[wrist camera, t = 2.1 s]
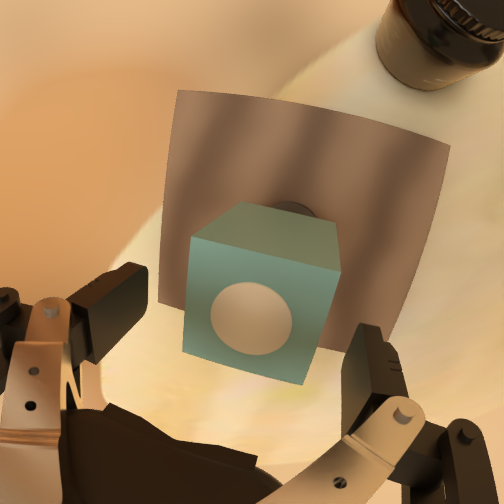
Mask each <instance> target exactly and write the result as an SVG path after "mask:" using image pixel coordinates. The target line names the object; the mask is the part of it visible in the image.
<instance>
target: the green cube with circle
mask: <svg viewBox="0 0 504 504" xmlns="http://www.w3.org/2000/svg"><path fill="white" fill-rule="evenodd" d="M340 274H341V266H340V256H339V247H338V238H337V229H336V223H335V222H331V221H326V220H322V219H318V218H314V217H310V216H305V215H301V214H297V213H292V212H288V211H284V210H279V209H275V208H270V207H266V206H261V205H256V204H252V203H247V202H242V201H241V202H240V203H238V204H237V205H235V206H234V207H232V208H231V209H230V210H228V211H227V212H225V213H224V214H222V215H221V216H219V217H218V218H216V219H215V220H214V221H212V222H211V223H209V224H208V225H206V226H205V227H204V228H202V229H201V230H199V231H198V232H196V233H195V234H194V235H192V236H191V242H190V252H189V263H188V275H187V287H186V300H185V315H184V331H183V350H182V352H185V353H188V354H191V355H194V356H197V357H200V358H203V359H206V360H209V361H213V362H216V363H219V364H222V365H226V366H229V367H232V368H236V369H239V370H243V371H246V372H250V373H254V374H257V375H261V376H265V377H269V378H273V379H277V380H281V381H285V382H289V383H293V384H298V385H303V382H304V380H305V377H306V375H307V372H308V369H309V367H310V364H311V361H312V359H313V356H314V353H315V350H316V348H317V345H318V342H319V339H320V336H321V333H322V330H323V328H324V325H325V322H326V319H327V316H328V313H329V310H330V307H331V303H332V300H333V297H334V294H335V291H336V288H337V284H338V281H339V278H340Z"/></svg>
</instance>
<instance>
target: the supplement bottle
mask: <svg viewBox="0 0 504 504" xmlns="http://www.w3.org/2000/svg"><path fill="white" fill-rule="evenodd" d="M376 46H377V50H378V54H379V56H380V58H381V60H382V62H383V64H384V65H385V67H386V68H387V69H388V70H389V71H390V73H391V74H392V75H394V76H395V77H396V78H397V79H398V80H400V81H401V82H403V83H405V84H406V85H408V86H411V87H413V88H416V89H420V90H436V89H440V88H443V87H445V86H448V85H450V84H452V83H454V82H457V81H459V80H461V79H463V78H466V77H468V76H470V75H473V74H475V73H477V72H480V71H482V70H484V69H487V68H489V67H490V66H492V65H494V64H495V63H497V61H498V60H499V59H500V58H501V57H502V55H503V53H504V0H390V3H389V5H388V7H387V9H386V11H385V13H384V16H383V18H382V20H381V22H380V25H379V27H378V30H377V34H376Z"/></svg>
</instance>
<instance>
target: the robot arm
mask: <svg viewBox="0 0 504 504" xmlns="http://www.w3.org/2000/svg"><path fill="white" fill-rule="evenodd" d="M147 305H148V269H147V267H146V266H142V265H139V264H136V263H132V262H127V263H125V264H124V265H122V266H121V267H120V268H118V269H117V270H113V271H110V272H106V273H103V274H102V275H100V276H99V277H97V278H96V279H95V280H94V281H91V282H90V283H88V285H85V286H84V287H83V288H81V289H80V290H78V291H77V292H75V293H74V294H72V295H71V296H70V297H68V298H67V299H62V298H59V297H49V298H44V299H42V300H40V301H38V302H37V303H36V304H35V305H34V306H31V305H27V304H22V303H20V298H19V293H18V291H16V290H15V289H13V288H8V287H3V288H0V395H1V394H2V393H3V392H4V391H5V393H4V400H3V407H2V414H1V423H0V504H365V503H366V502H367V501H368V500H369V499H370V498H371V497H372V496H373V494H374V493H375V492H376V491H377V490H378V489H379V487H380V486H381V485H382V484H383V483H384V482H385V480H386V479H388V480H391V481H394V482H397V483H400V484H401V485H402V504H499V502H498V496H497V491H496V486H495V481H494V476H493V472H492V467H491V464H490V459H489V455H488V451H487V448H486V444H485V440H484V437H483V434H482V432H481V430H480V429H479V427H478V426H477V425H475V424H474V423H473V422H471V421H469V420H467V419H455V420H453V421H452V422H451V423H450V424H449V426H448V427H447V428H445V427H442V426H439V425H436V424H433V423H430V422H428V421H426V420H425V414H424V411H423V410H422V408H421V407H420V406H419V405H418V404H417V403H416V402H415V401H413V400H411V399H409V396H408V392H407V388H406V384H405V380H404V376H403V372H402V368H401V364H400V360H399V357H398V353H397V351H396V350H395V349H394V347H393V346H392V345H391V344H390V343H389V342H384V340H383V336H382V332H381V329H380V327H379V326H374V325H370V324H365V323H359V324H358V326H357V328H356V331H355V333H354V335H353V338H352V340H351V343H350V345H349V347H348V350H347V352H346V354H345V357H344V360H343V363H342V369H341V395H342V419H341V440H340V441H338V442H337V443H336V444H335V445H334V446H333V447H331V448H330V449H329V450H328V451H327V452H326V453H324V454H323V455H322V456H321V457H320V458H318V459H317V460H316V461H315V462H313V463H312V464H311V465H310V466H308V467H307V468H306V469H304V470H303V471H302V472H301V473H299V474H298V475H297V476H295V477H294V478H292V479H291V480H290V481H289V482H287V483H286V484H284V485H282V484H281V483H280V482H279V481H278V480H277V479H276V478H274V477H273V476H272V475H270V474H268V473H267V472H265V471H264V470H262V469H260V468H258V467H256V466H255V465H256V461H257V458H258V456H256V455H252V454H248V453H244V452H240V451H237V450H233V449H230V448H226V447H223V446H219V445H211V444H202V443H194V442H186V441H179V440H175V439H173V438H171V437H170V436H168V435H167V434H165V433H164V432H162V431H161V430H159V429H158V428H156V427H155V426H153V425H152V424H151V423H149V422H148V421H146V420H145V419H143V418H142V417H140V416H138V415H135V414H133V413H131V412H129V411H127V410H124V409H122V408H120V407H118V406H116V405H114V404H112V403H109V404H108V405H107V406H106V408H105V409H104V410H103V411H101V410H94V409H84V402H83V385H82V383H83V382H82V366H81V363H82V362H83V361H84V360H87V361H89V362H91V363H93V364H95V365H96V364H98V363H99V361H100V360H101V359H102V358H103V357H104V356H105V355H106V354H107V353H108V352H109V351H110V350H111V349H112V348H113V347H114V346H115V345H116V344H117V343H118V342H119V341H120V339H121V338H122V337H123V336H124V335H125V334H126V333H127V332H128V331H129V330H130V329H131V328H132V327H133V326H134V325H135V324H136V323H137V322H138V321H139V320H140V319H141V318H142V317H143V315H144V314H145V312H146V309H147ZM444 486H445V491H444ZM445 496H446V499H445Z"/></svg>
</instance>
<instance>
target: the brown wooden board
mask: <svg viewBox="0 0 504 504" xmlns="http://www.w3.org/2000/svg"><path fill="white" fill-rule="evenodd" d="M449 150H450V145H447V144H445V143H442V142H439V141H437V140H434V139H431V138H428V137H425V136H422V135H419V134H416V133H413V132H410V131H407V130H404V129H401V128H398V127H394V126H391V125H388V124H384V123H381V122H377V121H373V120H370V119H366V118H362V117H358V116H354V115H350V114H346V113H342V112H338V111H333V110H329V109H324V108H319V107H314V106H309V105H304V104H298V103H293V102H287V101H281V100H275V99H268V98H261V97H253V96H245V95H236V94H227V93H215V92H203V91H185V90H178V93H177V99H176V105H175V111H174V118H173V124H172V131H171V139H170V146H169V154H168V163H167V171H166V181H165V191H164V201H163V213H162V226H161V241H160V259H159V284H158V302H159V303H162V304H165V305H168V306H171V307H174V308H177V309H181V310H184V311H185V300H186V287H187V275H188V263H189V252H190V242H191V236H192V235H194V234H195V233H196V232H198V231H199V230H201V229H202V228H204V227H205V226H206V225H208V224H209V223H211V222H212V221H214V220H215V219H216V218H218V217H219V216H221V215H222V214H224V213H225V212H227V211H228V210H230V209H231V208H232V207H234V206H235V205H237V204H238V203H240V202H241V201H242V202H247V203H252V204H256V205H261V206H266V207H270V208H275V209H279V210H284V211H288V212H292V213H297V214H301V215H305V216H310V217H314V218H318V219H322V220H326V221H331V222H335V223H336V229H337V238H338V247H339V256H340V266H341V274H340V278H339V281H338V284H337V288H336V291H335V294H334V297H333V300H332V303H331V307H330V310H329V313H328V316H327V319H326V322H325V325H324V328H323V330H322V333H321V336H320V339H319V342H318V345H317V347H321V348H326V349H330V350H335V351H340V352H344V353H346V352H347V350H348V347H349V345H350V343H351V340H352V338H353V335H354V333H355V331H356V328H357V326H358V324H359V323H365V324H370V325H374V326H379V327H380V329H381V332H382V336H383V340H384V342H387V341H388V339H389V336H390V334H391V332H392V330H393V328H394V325H395V323H396V321H397V318H398V316H399V314H400V311H401V309H402V306H403V304H404V302H405V299H406V297H407V294H408V291H409V289H410V286H411V284H412V281H413V278H414V276H415V273H416V270H417V267H418V264H419V261H420V259H421V256H422V253H423V250H424V247H425V243H426V240H427V237H428V234H429V231H430V227H431V224H432V221H433V217H434V214H435V210H436V206H437V203H438V199H439V195H440V191H441V187H442V183H443V178H444V174H445V170H446V165H447V160H448V155H449Z"/></svg>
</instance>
